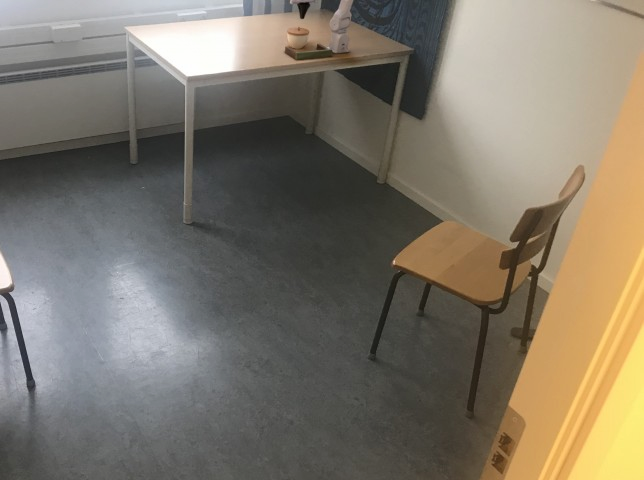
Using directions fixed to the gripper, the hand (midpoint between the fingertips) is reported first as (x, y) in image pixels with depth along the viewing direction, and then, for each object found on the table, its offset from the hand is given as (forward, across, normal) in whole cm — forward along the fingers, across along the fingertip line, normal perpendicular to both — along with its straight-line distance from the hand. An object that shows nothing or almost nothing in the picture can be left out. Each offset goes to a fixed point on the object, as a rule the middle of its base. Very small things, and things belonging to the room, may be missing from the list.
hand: (301, 18), depth 353 cm
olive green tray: (+10, +7, +24) cm, 27 cm away
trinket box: (+10, +8, +11) cm, 17 cm away
